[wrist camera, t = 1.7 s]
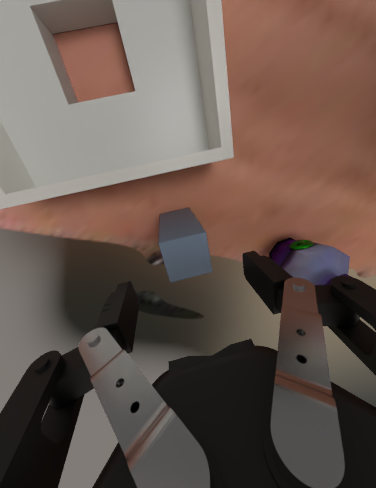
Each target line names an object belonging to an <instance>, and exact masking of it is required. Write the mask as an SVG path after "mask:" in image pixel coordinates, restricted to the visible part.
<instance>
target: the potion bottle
mask: <svg viewBox="0 0 376 488" xmlns="http://www.w3.org/2000/svg"><path fill="white" fill-rule="evenodd" d="M269 255H270V259H272V260H273V261H274V262H275V263H277V264H278V265H279V266H280V267H282V268H283V269H284V270H285V271H286V272H288V273H289V274H290V275H291V276H293V277H294V278H295V277H297V278H303V279H306V280H308V281H310V282H311V283H313V285H330V283H331V279H332V278H334V277H337V276H348V277H351V276H349V275H348V269H349V259H350V256H348V255H346V254H344V253H343V252H341V251H339V250H337V249H336V248H334V247H331V246H327V245H322V244H317V243H313V242H312V241H309V240H297V241H296V240H294V239H292V238H288V239H285V240H282V241H279V242H277V243H276V245H275V246H274V248H273V249H272V250H271V252H270V253H269ZM352 278H353V277H352Z"/></svg>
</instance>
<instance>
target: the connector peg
mask: <svg viewBox="0 0 376 488" xmlns="http://www.w3.org/2000/svg"><path fill="white" fill-rule="evenodd" d="M159 247H160V250H161V253H162V257H163V260H164V263H165V267H166V270H167V274H168V277H169V280H170V282H174V281H178V280H182V279H186V278H190V277H194V276H198V275H202V274H206V273H210V272H212V266H211V259H210V254H209V248H208V242H207V236H206V231H205V230H204V229H203V227H202V226H201V224H200V223H199V221H198V220H197V218H196V217H195V215H194V214H193V212H192V211H191V210H190V208H189V207H188V208H184V209H180V210H175V211H171V212H167V213H162V214H160V223H159Z"/></svg>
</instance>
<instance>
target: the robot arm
mask: <svg viewBox="0 0 376 488" xmlns="http://www.w3.org/2000/svg"><path fill="white" fill-rule="evenodd" d="M243 268H244V275H245V278H246V280H247V281H248V282H249V283H250V285H251V286H252V287H253V289H254V290H255V291H256V293H257V294H258V295H259V296H260V298H261V299H262V300H263V302H264V303H265V304H266V305H267V307H268V308H269V309H270V311H271V312H272V313H273V314H277V313H281V320H280V331H279V342H278V351H276V350H274V349H271V348H268V347H264V346H254V344H253V342H252V340H251V339H249V340H245V341H242V342H239V343H235V344H231V345H230V346H228V347H226V348H224V349H223V350H221V351H219V352H218V353H216V354H214V355H212V356H188V357H184V358H180V359H177V360H174V361H170V362H169V370H168V371H166V372H165V373H163V374H162V375H161V376H160V377H159V378H158V379H157V380H156V381H155V382H154V383H153V384H152V385H151V384H150V382H149V381H148V380H147V378H146V377H145V376H144V375H143V373H142V372H141V371H140V369H139V368H138V367H137V366H136V364H135V363H134V362H133V360H132V359H131V358H130V357H129V355H128V354H127V353H130V352H132V350H133V344H134V337H135V330H136V324H137V317H138V310H139V301H138V298H137V295H136V293H135V290H134V288H133V286H132V283H131V282H130V281H128V282H124V283H120V284H118V286H117V289H116V292H115V293H112V294H111V295H110V296H109V297H108V298H107V300H106V302H105V304H104V307H103V309H102V312H101V314H100V317H99V319H98V322H97V324H96V327H95V329H94V330H92V331H91V332H89V333H88V334H87V335H85V336H84V338H83V339H82V340H81V342H80V344H79V347H77V348H75V349H73V350H72V351H70V352H68V353H66V354H64V355H61V354H60V353H59V352H58V351H50V352H47V353H45V354H44V355H42V356H40V357H39V358H38V359H36V360H35V361H34V362H33V363H32V364H31V365H30V367H29V368H28V369H27V370H26V372H25V374H24V375H23V377H22V379H21V381H20V382H19V384H18V385H17V387H16V389H15V390H14V392H13V393H12V395H11V397H10V398H9V400H8V402H7V403H6V405H5V407H4V408H3V410H2V411H1V413H0V488H58V485H59V482H60V478H61V474H62V471H63V467H64V464H65V461H66V457H67V453H68V450H69V446H70V443H71V439H72V436H73V432H74V429H75V425H76V422H77V418H78V415H79V411H80V408H81V404H82V401H83V397H84V394H85V393H87V392H88V391H90V390H92V389H93V388H94V389H95V391H96V393H97V395H98V398H99V400H100V402H101V404H102V406H103V409H104V411H105V413H106V415H107V417H108V420H109V422H110V424H111V426H112V428H113V431H114V433H115V435H116V437H117V439H118V444H117V446H116V447H115V449H114V451H113V453H112V454H111V456H110V458H109V460H108V462H107V463H106V465H105V467H104V468H103V470H102V472H101V474H100V475H99V477H98V479H97V480H96V482H95V484H94V486H93V487H92V488H376V407H374V406H372V405H371V404H369V403H367V402H365V401H364V400H362V399H360V398H358V397H356V396H355V395H353V394H352V393H350V392H348V391H346V390H345V389H343V388H341V387H340V386H338V385H336V384H334V383H333V382H331V381H330V374H329V367H328V360H327V353H326V345H325V338H324V331H323V326H328V327H329V328H330V329H331V330H332V331H333V332H334V333H335V334H336V335H337V336H338V337H339V338H340V339H341V340H342V341H343V342H344V343H345V344H346V346H347V347H348V348H349V349H350V350H351V351H352V352H353V353H354V354H355V355H356V356H357V357H358V358H359V359H360V360H361V361H362V362H363V363H364V364H365V365H366V366H367V367H368V368H369V369H370V370H371V371H372V372H373V373H374V374H375V375H376V332H374V331H373V330H372V329H371V328H369V327H368V326H367V325H366V324H365V323H363V322H362V321H361V320H360V319H359V318H360V317H361V318H363V319H364V320H365V321H366V322H368V323H369V324H370V325H371V326H373V328H374V329H375V330H376V290H375V289H374V288H372V287H370V286H368V285H367V284H365V283H363V282H362V281H360V280H358V279H356V278H352V277H348V276H337V277H334V278H332V279H331V283H330V285H313V283H311V282H310V281H308V280H306V279H303V278H297V277H295V278H294V277H293V276H291V275H290V274H289V273H288V272H286V271H285V270H284V269H283V268H282V267H280V266H279V265H278V264H277V263H275V262H274V261H273V260H272V259H270V258H268V257H266V256H260V255H259V254H258V253H256V252H255V251H250V252H246V253H243ZM48 403H49V406H48ZM47 406H48V408H47ZM46 408H47V410H46ZM45 410H46V413H45V415H44V412H45ZM43 415H44V417H43ZM42 418H43V419H42ZM41 421H42V422H41Z"/></svg>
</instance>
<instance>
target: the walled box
mask: <svg viewBox="0 0 376 488" xmlns="http://www.w3.org/2000/svg"><path fill="white" fill-rule="evenodd" d="M116 22H118V25H119V29H120V33H121V37H122V41H123V45H124V49H125V52H126V56H127V60H128V64H129V68H130V72H131V76H132V80H133V84H134V88H135V91H134V92H129V93H124V94H119V95H114V96H109V97H104V98H99V99H94V100H89V101H84V102H79V103H78V101H77V98H76V95H75V93H74V90H73V87H72V85H71V82H70V79H69V77H68V74H67V71H66V68H65V66H64V63H63V60H62V58H61V55H60V52H59V50H58V47H57V44H56V42H55V39H54V36H53V34H55V33H61V32H66V31H72V30H77V29H83V28H88V27H94V26H99V25H105V24H110V23H116ZM230 158H234V154H233V141H232V129H231V116H230V103H229V91H228V78H227V66H226V53H225V41H224V28H223V16H222V3H221V0H0V209H4V208H8V207H13V206H17V205H22V204H26V203H31V202H35V201H40V200H44V199H49V198H53V197H58V196H62V195H67V194H71V193H76V192H80V191H85V190H89V189H94V188H98V187H103V186H108V185H112V184H117V183H121V182H126V181H130V180H135V179H139V178H144V177H148V176H153V175H157V174H162V173H166V172H171V171H175V170H180V169H184V168H189V167H193V166H198V165H202V164H207V163H212V162H216V161H221V160H225V159H230Z"/></svg>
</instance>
